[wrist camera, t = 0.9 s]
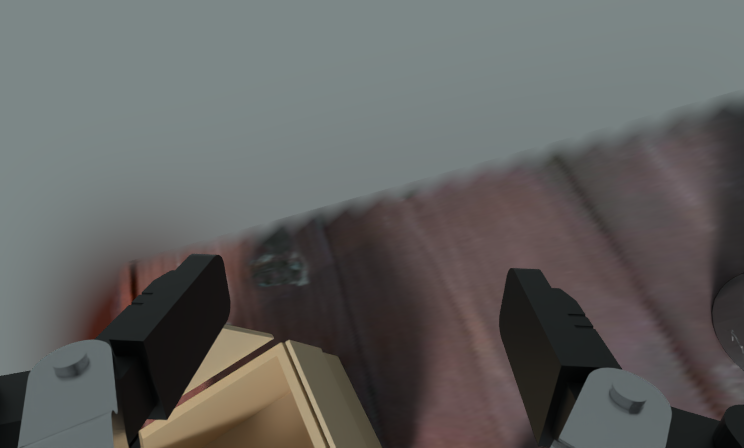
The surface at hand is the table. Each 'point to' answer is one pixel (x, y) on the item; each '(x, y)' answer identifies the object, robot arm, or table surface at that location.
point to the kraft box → (271, 407)
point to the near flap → (228, 351)
